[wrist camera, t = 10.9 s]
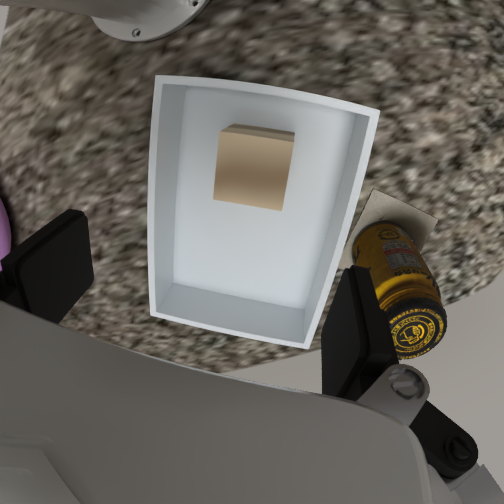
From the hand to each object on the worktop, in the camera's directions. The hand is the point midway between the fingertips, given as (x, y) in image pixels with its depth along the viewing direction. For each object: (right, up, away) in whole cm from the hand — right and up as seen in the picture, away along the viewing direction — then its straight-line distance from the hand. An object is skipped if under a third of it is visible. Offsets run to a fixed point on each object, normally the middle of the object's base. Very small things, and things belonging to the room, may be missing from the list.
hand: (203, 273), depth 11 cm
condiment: (+14, +2, +18) cm, 23 cm away
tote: (+2, +5, +18) cm, 19 cm away
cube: (+2, +9, +15) cm, 18 cm away
